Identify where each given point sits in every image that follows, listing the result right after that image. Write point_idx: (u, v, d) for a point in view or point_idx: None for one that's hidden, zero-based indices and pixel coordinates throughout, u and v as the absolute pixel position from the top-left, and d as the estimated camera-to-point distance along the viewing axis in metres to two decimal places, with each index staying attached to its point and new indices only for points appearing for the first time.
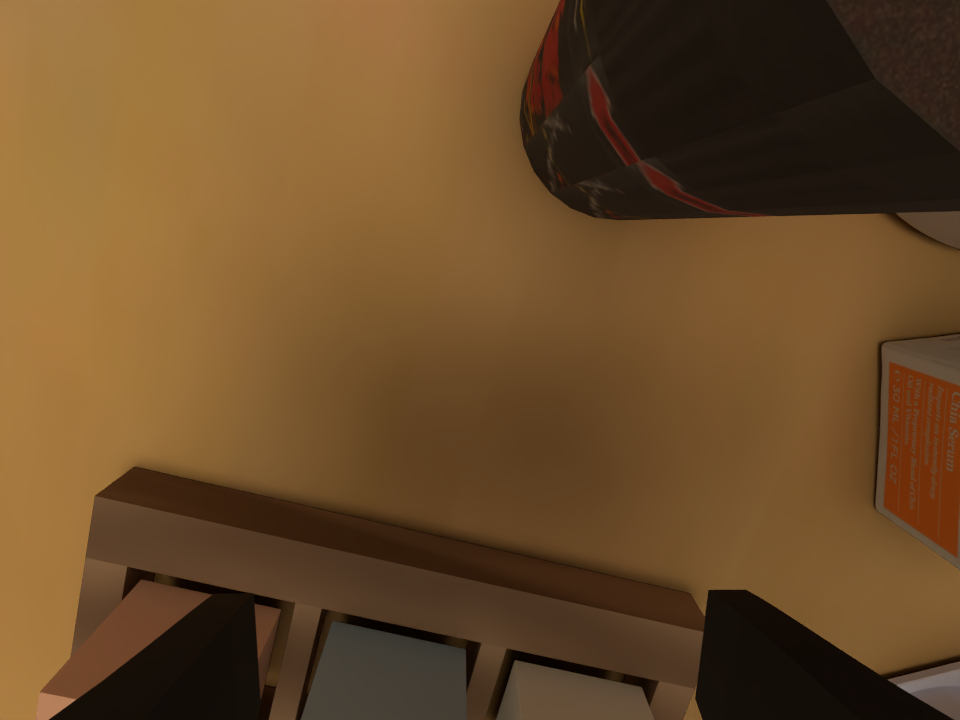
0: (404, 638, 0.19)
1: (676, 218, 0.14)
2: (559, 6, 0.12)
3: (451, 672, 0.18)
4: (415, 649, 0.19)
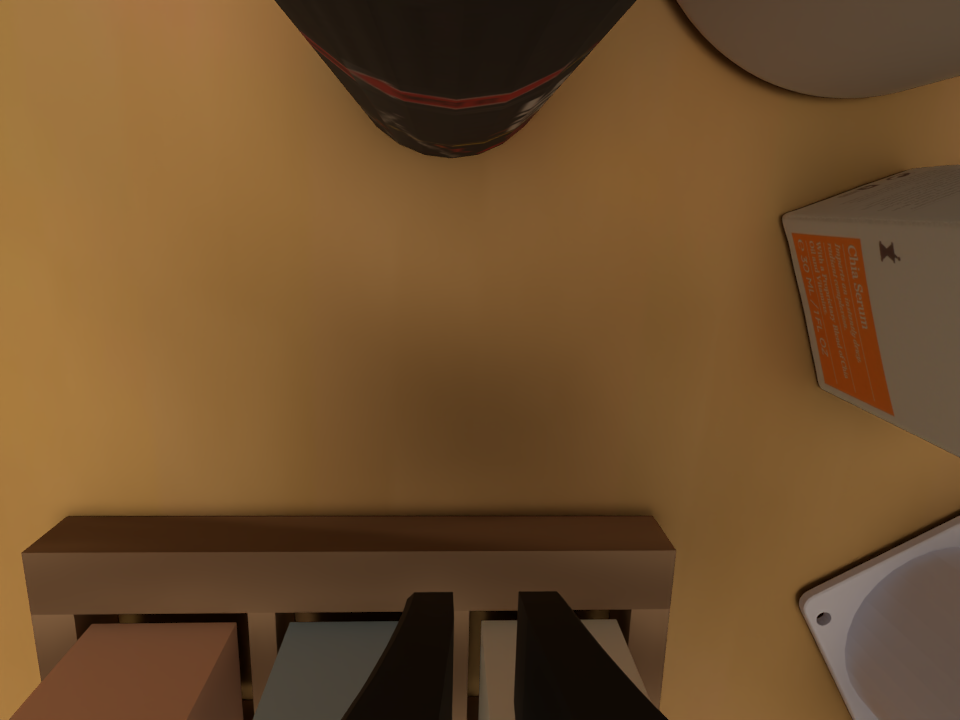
0: (365, 623, 0.19)
1: (488, 132, 0.13)
2: None
3: None
4: (376, 632, 0.19)
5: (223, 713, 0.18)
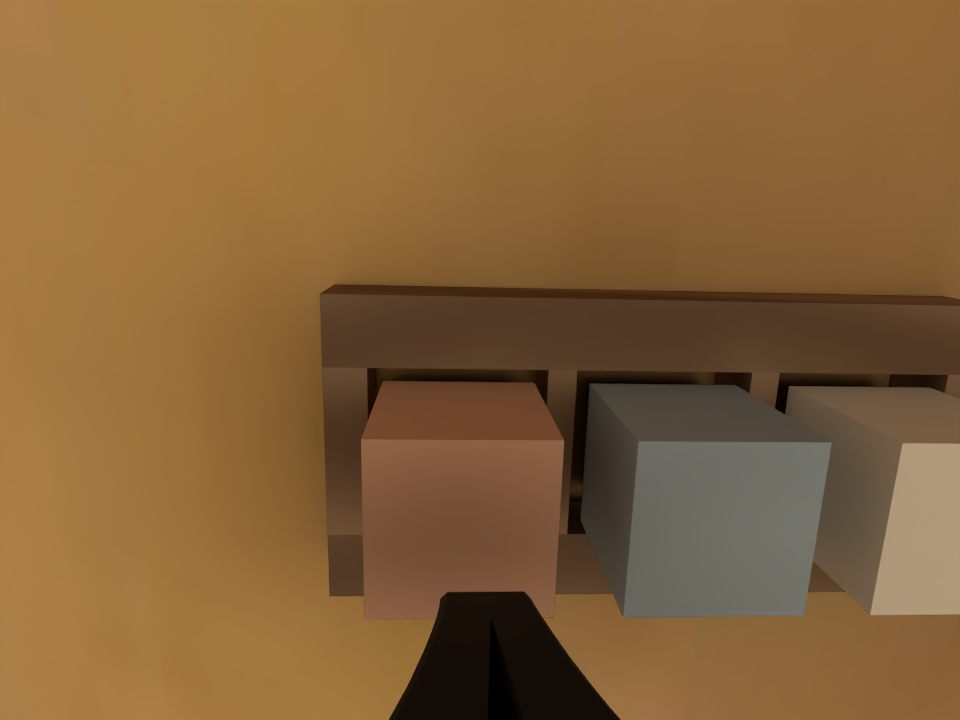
0: (667, 386, 0.18)
1: None
2: None
3: (738, 396, 0.17)
4: (688, 389, 0.17)
5: None
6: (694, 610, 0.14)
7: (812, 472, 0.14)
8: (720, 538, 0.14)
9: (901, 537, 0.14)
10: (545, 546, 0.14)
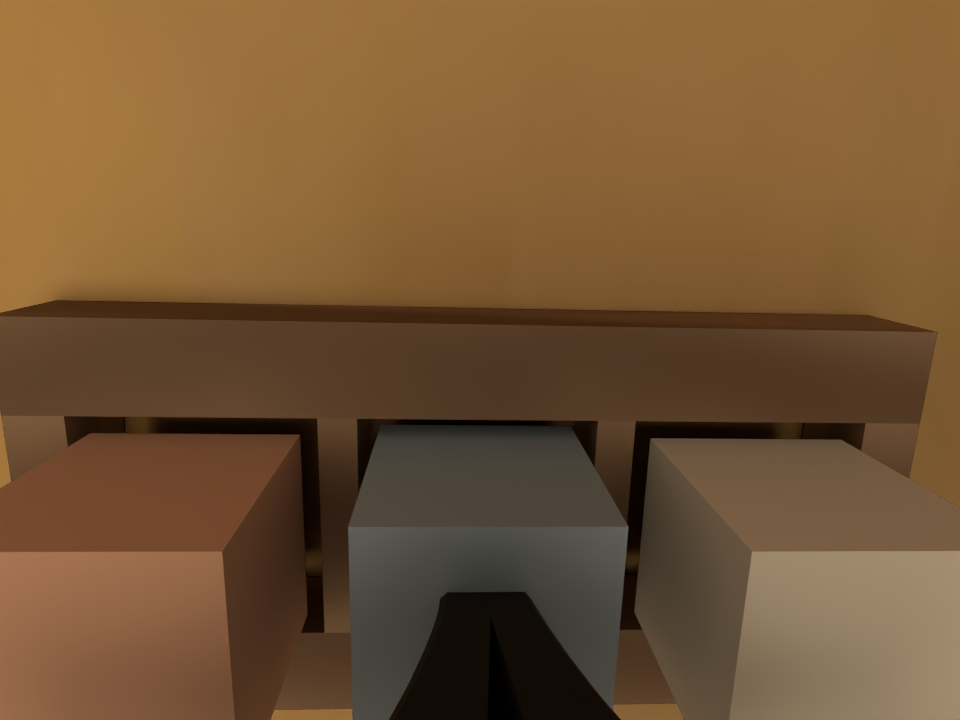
0: (483, 428, 0.14)
1: None
2: None
3: (560, 444, 0.13)
4: (502, 433, 0.13)
5: (285, 554, 0.12)
6: None
7: (603, 567, 0.10)
8: None
9: (758, 687, 0.09)
10: (214, 704, 0.09)
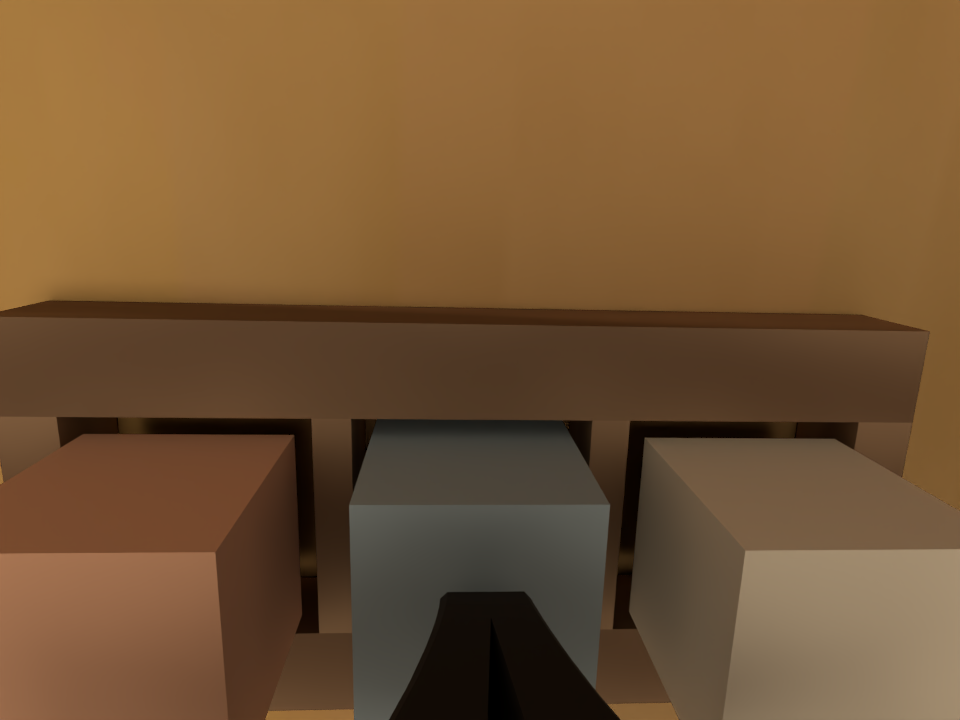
0: None
1: None
2: None
3: (548, 432, 0.14)
4: (494, 422, 0.14)
5: (280, 555, 0.12)
6: None
7: (587, 543, 0.10)
8: None
9: (752, 685, 0.09)
10: (207, 705, 0.09)
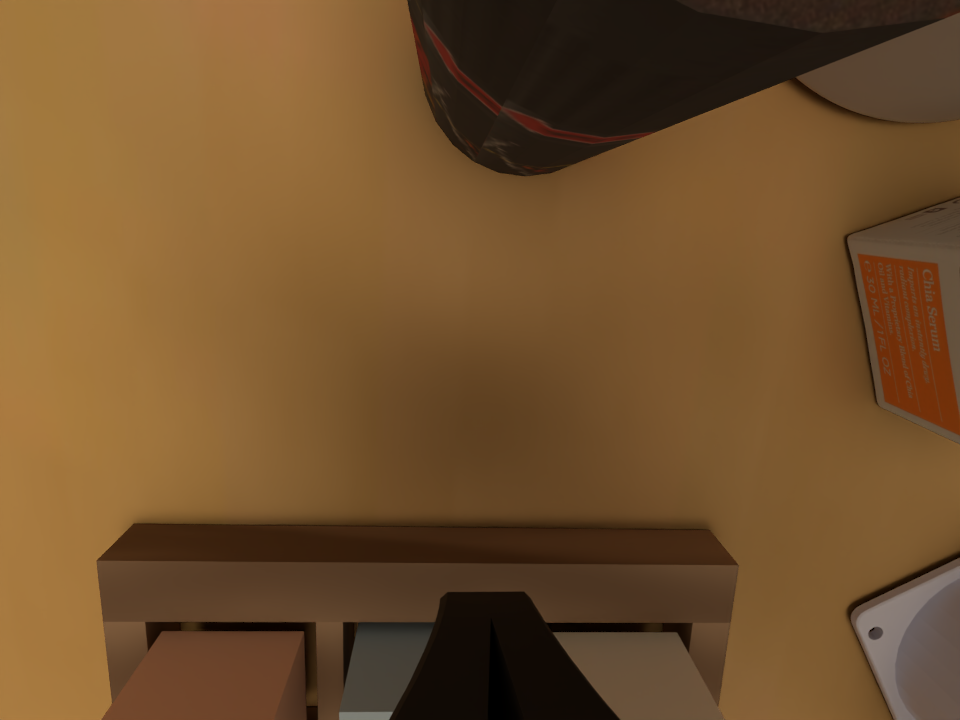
0: None
1: None
2: None
3: None
4: None
5: None
6: None
7: None
8: None
9: None
10: None
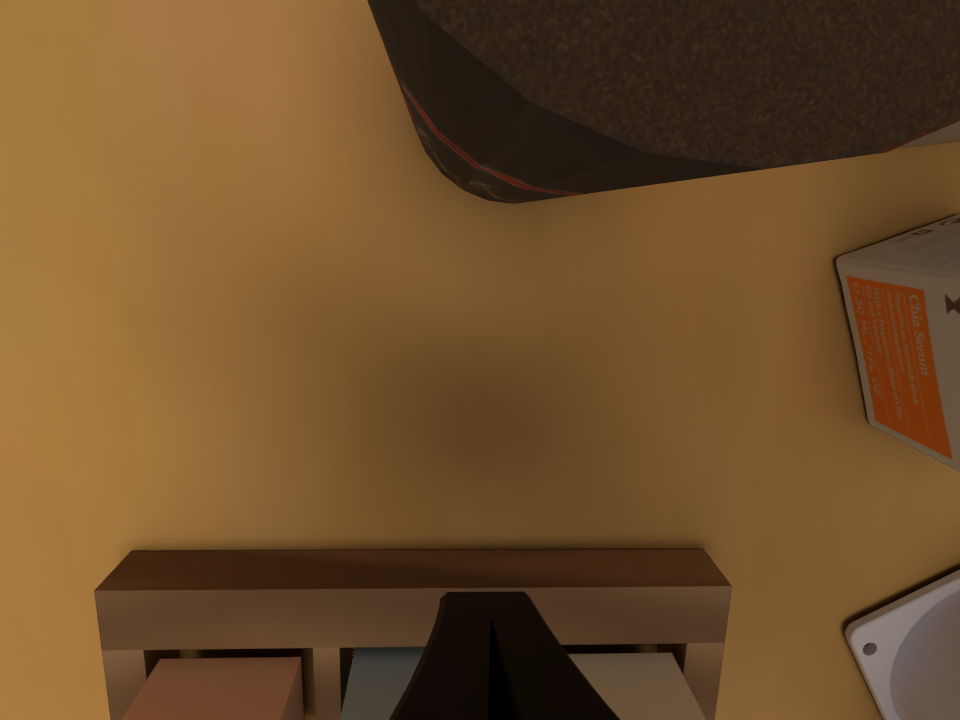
0: None
1: None
2: None
3: None
4: None
5: None
6: None
7: None
8: None
9: None
10: None
